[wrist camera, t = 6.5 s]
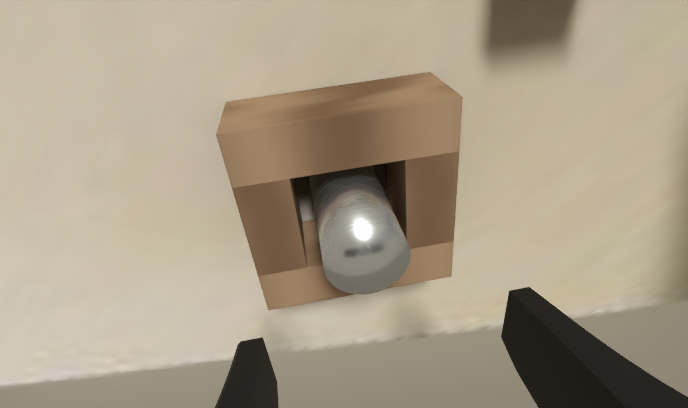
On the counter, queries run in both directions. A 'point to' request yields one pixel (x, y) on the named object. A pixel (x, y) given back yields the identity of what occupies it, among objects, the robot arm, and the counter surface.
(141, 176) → the counter surface
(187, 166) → the counter surface
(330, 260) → the pin
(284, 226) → the bored block
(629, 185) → the counter surface
